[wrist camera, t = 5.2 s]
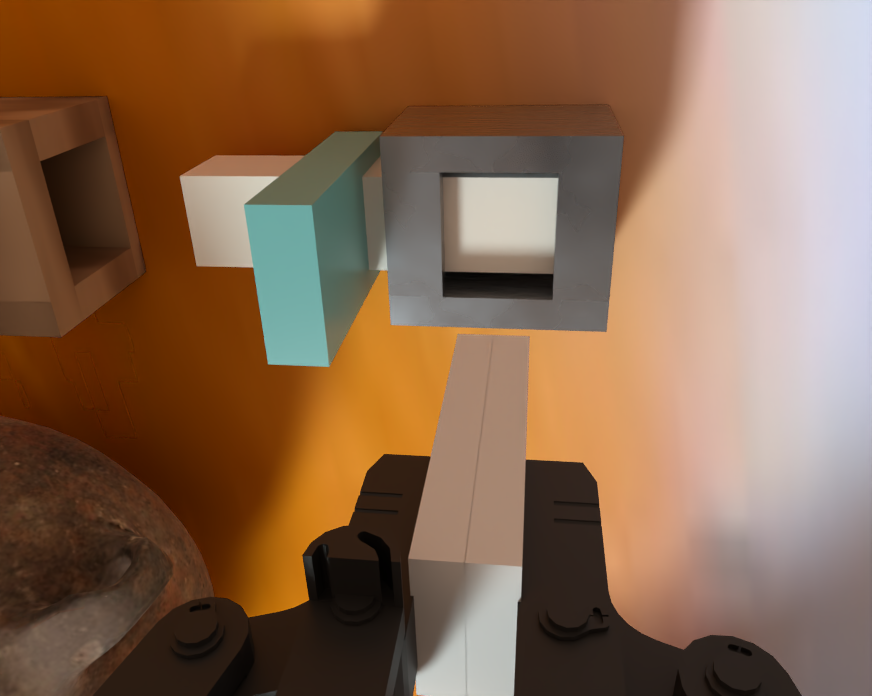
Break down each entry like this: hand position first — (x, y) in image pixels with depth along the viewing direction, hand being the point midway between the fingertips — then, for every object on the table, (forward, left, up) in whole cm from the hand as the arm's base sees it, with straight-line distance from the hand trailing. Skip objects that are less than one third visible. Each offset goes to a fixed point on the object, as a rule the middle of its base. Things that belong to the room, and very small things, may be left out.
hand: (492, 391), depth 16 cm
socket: (+21, 0, -17) cm, 27 cm away
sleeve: (0, 0, -17) cm, 17 cm away
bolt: (+4, 0, -16) cm, 17 cm away
